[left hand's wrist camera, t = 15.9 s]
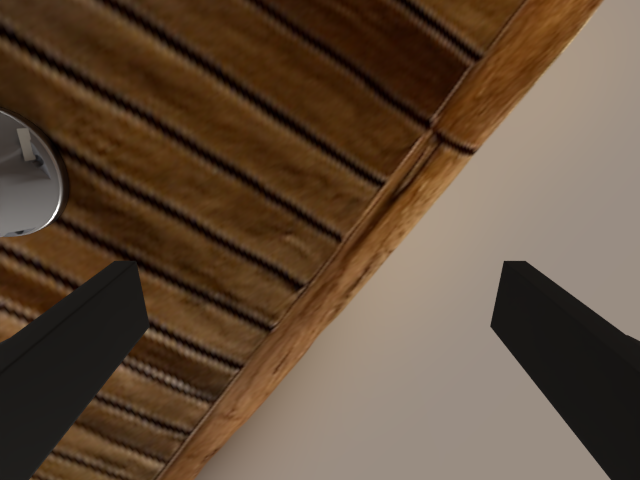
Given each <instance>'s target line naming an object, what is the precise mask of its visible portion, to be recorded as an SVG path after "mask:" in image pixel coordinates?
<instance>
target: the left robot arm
mask: <svg viewBox="0 0 640 480" xmlns="http://www.w3.org/2000/svg"><path fill="white" fill-rule="evenodd" d="M68 196H69V180H68V174H67V171H66V167H65V165H64V162H63V160H62V158H61V156H60V154H59V152H58V150H57V149H56V147H55V146H54V144H53V143H52V142H51V141H50V139H49V138H48V137H47V136H46V135H45V134H44V133H43V132H42V131H41V130H40V129H39V128H38V127H37V126H35V125H34V124H33V123H32V122H30V121H29V120H27V119H26V118H24V117H22V116H21V115H19V114H17V113H15V112H13V111H10V110H7V109H5V108H1V107H0V237H12V236H20V235H26V234H30V233H33V232H36V231H38V230H40V229H43V228H45V227H47V226H49V225H50V224H52V223H53V222H54V221H56V220H57V219H58V218H59V217H60V215H61V214H62V212H63V211H64V209H65V207H66V204H67V201H68ZM149 327H150V326H149V321H148V316H147V311H146V306H145V302H144V297H143V292H142V287H141V282H140V278H139V273H138V268H137V263H136V261H114V262H113V263H111V264H110V265H108V266H107V267H106V268H104V269H103V270H102V271H100V272H99V273H98V274H96V275H95V276H94V277H92V278H91V279H89V280H88V281H87V282H85V283H84V284H83V285H81V286H80V287H79V288H77V289H76V290H75V291H73V292H72V293H70V294H69V295H68V296H66V297H65V298H64V299H62V300H61V301H60V302H58V303H57V304H56V305H54V306H53V307H51V308H50V309H49V310H47V311H46V312H45V313H43V314H42V315H41V316H39V317H38V318H36V319H35V320H34V321H32V322H31V323H30V324H28V325H27V326H26V327H24V328H23V329H22V330H20V331H19V332H17V333H16V334H15V335H13V336H12V337H11V338H9V339H7V340H5V341H3V342H1V343H0V480H29V479H30V478H31V477H32V475H33V474H34V473H35V471H36V470H37V469H38V468H39V466H40V465H41V464H42V463H43V461H44V460H45V459H46V458H47V456H48V455H49V454H50V452H51V451H52V450H53V449H54V447H55V446H56V445H57V444H58V442H59V441H60V440H61V438H62V437H63V436H64V435H65V433H66V432H67V431H68V430H69V428H70V427H71V426H72V424H73V423H74V422H75V421H76V419H77V418H78V417H79V416H80V414H81V413H82V412H83V410H84V409H85V408H86V407H87V405H88V404H89V403H90V402H91V400H92V399H93V398H94V396H95V395H96V394H97V393H98V391H99V390H100V389H101V388H102V386H103V385H104V384H105V382H106V381H107V380H108V379H109V377H110V376H111V375H112V374H113V372H114V371H115V370H116V369H117V367H118V366H119V365H120V363H121V362H122V361H123V360H124V358H125V357H126V356H127V355H128V353H129V352H130V351H131V349H132V348H133V347H134V346H135V344H136V343H137V342H138V341H139V339H140V338H141V337H142V335H143V334H144V333H145V332H146V330H147V329H148V328H149ZM491 328H492V329H493V330H494V332H495V333H496V334H497V335H498V337H499V338H500V339H501V341H502V342H503V343H504V344H505V346H506V347H507V348H508V349H509V351H510V352H511V353H512V355H513V356H514V357H515V358H516V360H517V361H518V362H519V363H520V365H521V366H522V367H523V369H524V370H525V371H526V372H527V374H528V375H529V376H530V377H531V379H532V380H533V381H534V382H535V384H536V385H537V386H538V388H539V389H540V390H541V391H542V393H543V394H544V395H545V396H546V398H547V399H548V400H549V402H550V403H551V404H552V405H553V407H554V408H555V409H556V410H557V412H558V413H559V414H560V416H561V417H562V418H563V419H564V421H565V422H566V423H567V424H568V426H569V427H570V428H571V430H572V431H573V432H574V433H575V435H576V436H577V437H578V438H579V440H580V441H581V442H582V444H583V445H584V446H585V447H586V449H587V450H588V451H589V452H590V454H591V455H592V456H593V457H594V459H595V460H596V461H597V463H598V464H599V465H600V466H601V468H602V469H603V470H604V471H605V473H606V474H607V475H608V477H609V478H610V479H611V480H640V341H638V340H636V339H634V338H632V337H630V336H628V335H625V334H624V333H623V332H621V331H620V330H618V329H617V328H616V327H614V326H613V325H612V324H610V323H609V322H608V321H606V320H605V319H603V318H602V317H601V316H599V315H598V314H597V313H595V312H594V311H593V310H591V309H590V308H589V307H587V306H586V305H584V304H583V303H582V302H580V301H579V300H578V299H576V298H575V297H574V296H572V295H571V294H570V293H568V292H567V291H565V290H564V289H563V288H561V287H560V286H559V285H557V284H556V283H555V282H553V281H552V280H550V279H549V278H548V277H546V276H545V275H544V274H542V273H541V272H540V271H538V270H537V269H536V268H534V267H533V266H531V265H530V264H529V263H527V262H526V261H504V263H503V268H502V273H501V278H500V282H499V287H498V292H497V297H496V302H495V306H494V311H493V316H492V321H491Z"/></svg>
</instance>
